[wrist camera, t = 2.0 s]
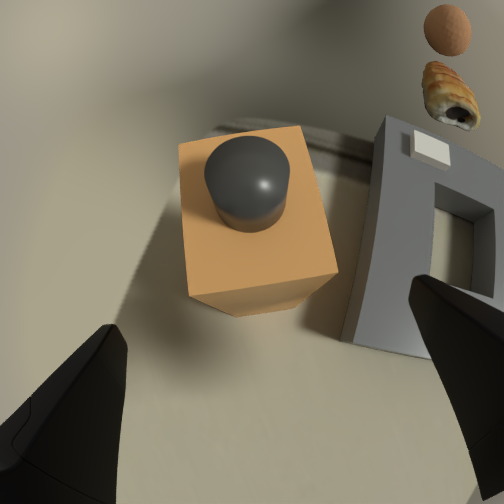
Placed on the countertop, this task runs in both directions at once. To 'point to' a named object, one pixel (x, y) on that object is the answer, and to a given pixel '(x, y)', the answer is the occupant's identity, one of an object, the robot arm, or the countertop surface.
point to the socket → (420, 232)
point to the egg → (447, 30)
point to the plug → (253, 222)
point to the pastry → (449, 97)
